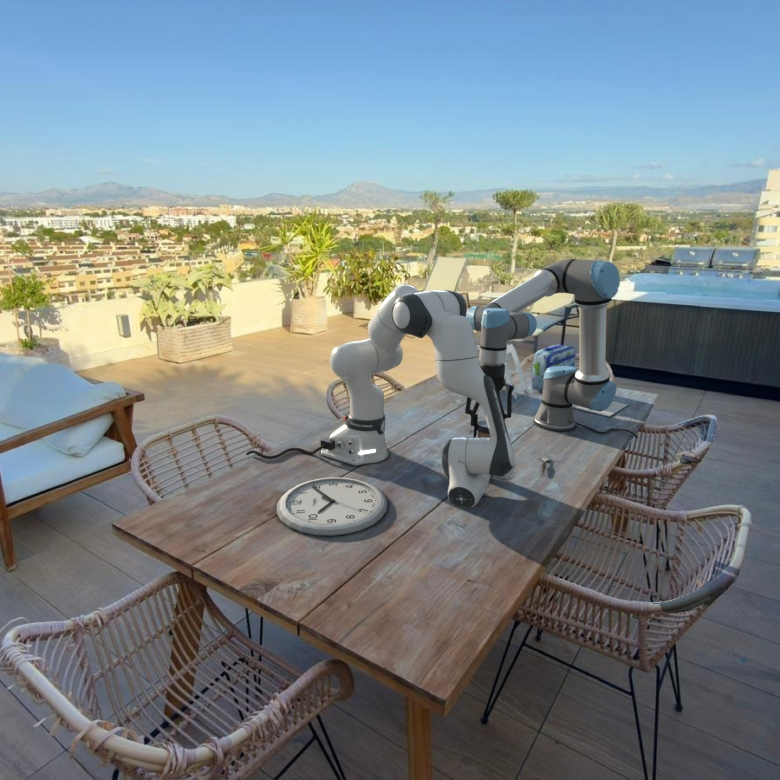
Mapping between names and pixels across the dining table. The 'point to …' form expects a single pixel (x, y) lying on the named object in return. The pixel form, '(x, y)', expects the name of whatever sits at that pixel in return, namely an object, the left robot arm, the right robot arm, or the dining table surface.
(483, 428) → the lid
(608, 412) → the invitation card
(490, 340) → the right robot arm
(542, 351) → the lunch box
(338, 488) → the wall clock
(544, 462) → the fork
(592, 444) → the dining table surface
